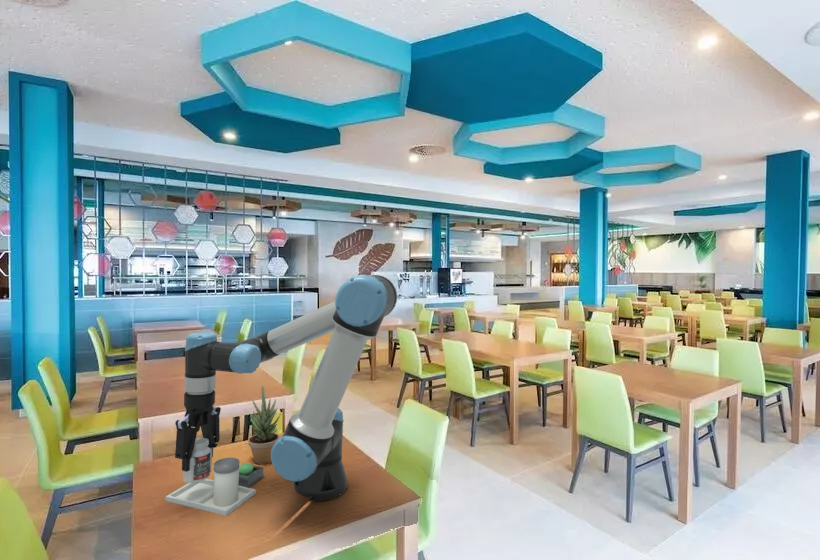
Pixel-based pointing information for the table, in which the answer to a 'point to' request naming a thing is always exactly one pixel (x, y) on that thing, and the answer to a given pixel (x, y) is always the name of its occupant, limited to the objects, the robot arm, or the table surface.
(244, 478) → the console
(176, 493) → the white divided tray
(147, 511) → the table surface
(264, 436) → the potted plant
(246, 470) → the button
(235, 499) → the white canister
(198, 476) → the pill bottle
